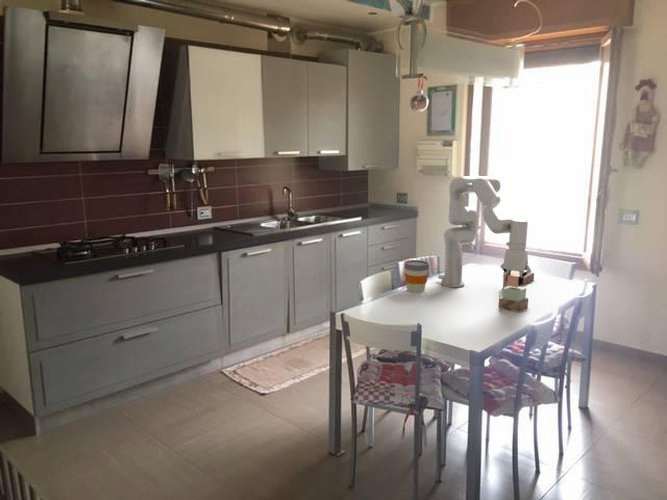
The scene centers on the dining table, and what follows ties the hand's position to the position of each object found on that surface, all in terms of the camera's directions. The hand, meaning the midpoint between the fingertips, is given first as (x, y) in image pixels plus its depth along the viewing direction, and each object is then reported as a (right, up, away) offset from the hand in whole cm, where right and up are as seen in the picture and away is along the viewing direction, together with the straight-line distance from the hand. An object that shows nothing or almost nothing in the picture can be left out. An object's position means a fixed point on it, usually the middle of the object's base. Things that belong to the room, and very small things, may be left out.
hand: (514, 283), depth 257 cm
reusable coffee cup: (-42, -6, +30) cm, 52 cm away
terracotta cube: (0, -1, 0) cm, 1 cm away
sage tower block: (0, -7, +2) cm, 7 cm away
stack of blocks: (+7, -7, +26) cm, 28 cm away
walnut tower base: (0, -12, +3) cm, 12 cm away
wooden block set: (+17, -2, +52) cm, 55 cm away
